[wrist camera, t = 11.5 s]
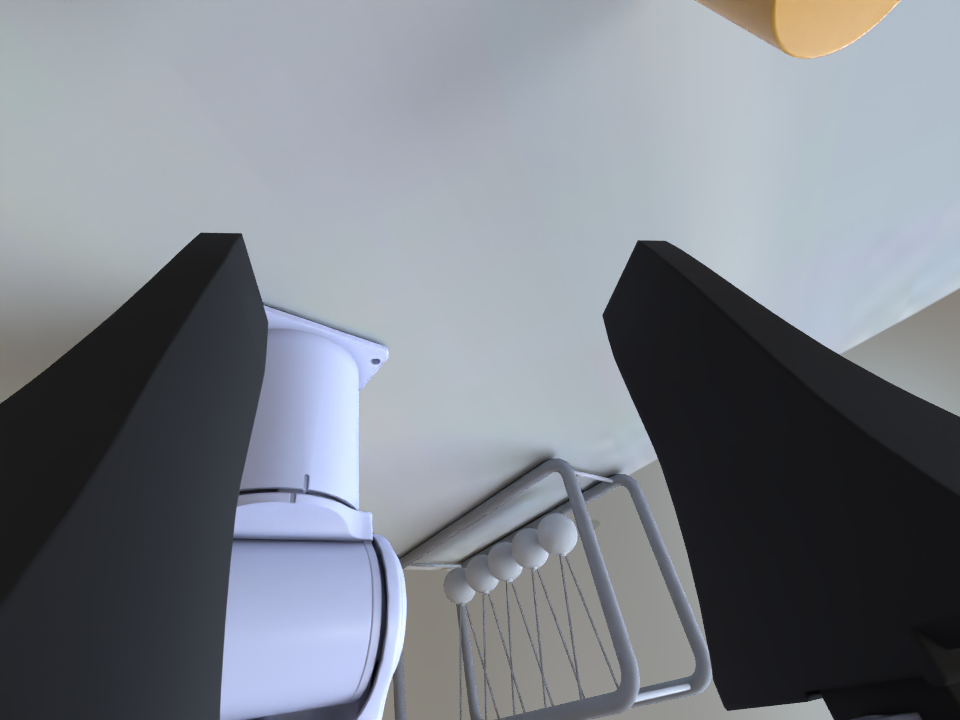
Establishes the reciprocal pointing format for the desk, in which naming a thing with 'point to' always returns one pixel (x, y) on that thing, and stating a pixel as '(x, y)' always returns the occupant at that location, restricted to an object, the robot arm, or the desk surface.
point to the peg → (804, 22)
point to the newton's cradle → (531, 553)
